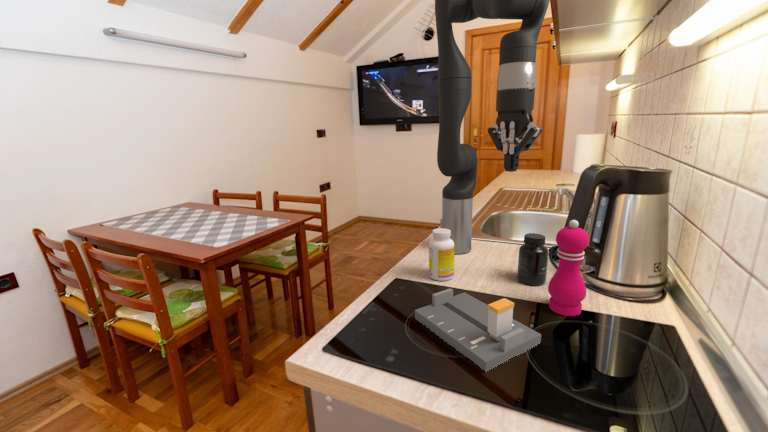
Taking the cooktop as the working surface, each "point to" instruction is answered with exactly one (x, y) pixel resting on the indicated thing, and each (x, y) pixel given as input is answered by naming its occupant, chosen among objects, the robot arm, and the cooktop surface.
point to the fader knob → (500, 318)
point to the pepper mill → (569, 271)
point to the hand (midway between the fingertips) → (510, 171)
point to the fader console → (474, 329)
